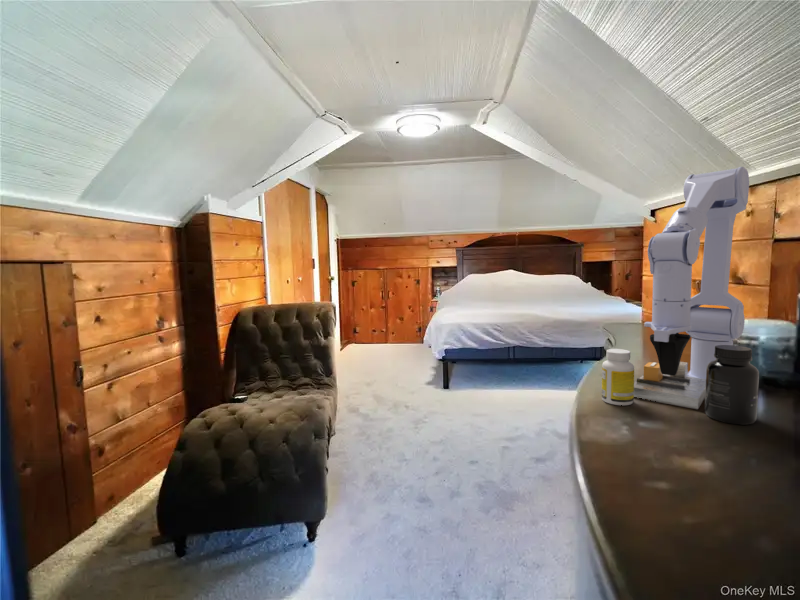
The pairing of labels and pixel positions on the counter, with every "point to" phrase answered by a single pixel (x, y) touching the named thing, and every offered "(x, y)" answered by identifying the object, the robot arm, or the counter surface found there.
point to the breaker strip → (673, 389)
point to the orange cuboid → (652, 371)
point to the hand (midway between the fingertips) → (668, 373)
